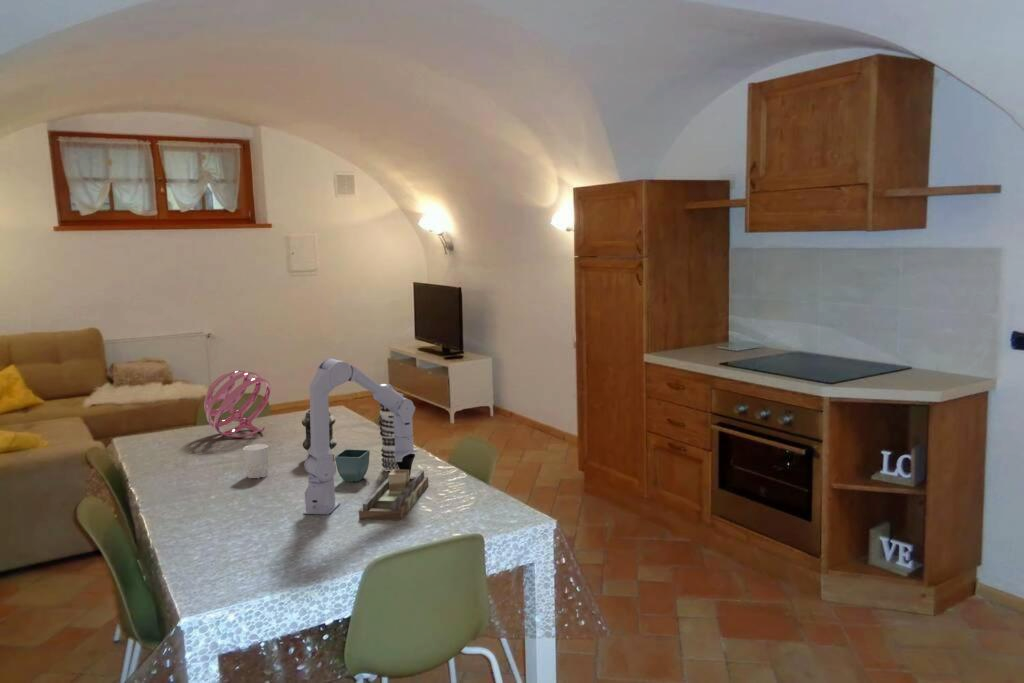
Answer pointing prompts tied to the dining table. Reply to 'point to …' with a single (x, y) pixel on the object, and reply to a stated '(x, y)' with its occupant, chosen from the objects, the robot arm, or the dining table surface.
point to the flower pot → (352, 464)
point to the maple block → (398, 480)
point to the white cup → (256, 460)
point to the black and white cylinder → (387, 439)
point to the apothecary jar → (308, 432)
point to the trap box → (393, 500)
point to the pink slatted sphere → (233, 399)
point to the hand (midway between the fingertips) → (405, 477)
